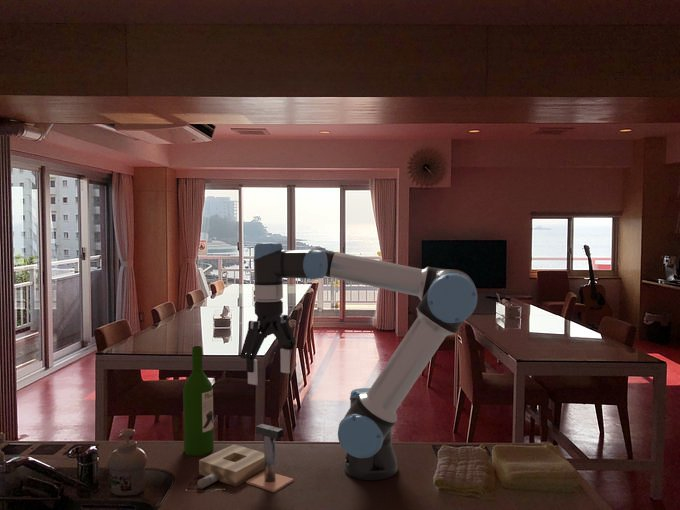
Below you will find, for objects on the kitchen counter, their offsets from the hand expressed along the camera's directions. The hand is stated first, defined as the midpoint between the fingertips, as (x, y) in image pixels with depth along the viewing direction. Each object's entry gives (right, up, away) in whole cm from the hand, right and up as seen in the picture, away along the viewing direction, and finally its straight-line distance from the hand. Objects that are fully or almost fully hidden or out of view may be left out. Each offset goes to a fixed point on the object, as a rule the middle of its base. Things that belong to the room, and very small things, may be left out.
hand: (269, 378), depth 154 cm
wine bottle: (-25, -28, +24) cm, 44 cm away
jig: (-13, -28, +6) cm, 32 cm away
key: (0, -28, +1) cm, 28 cm away
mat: (0, -29, +1) cm, 29 cm away
